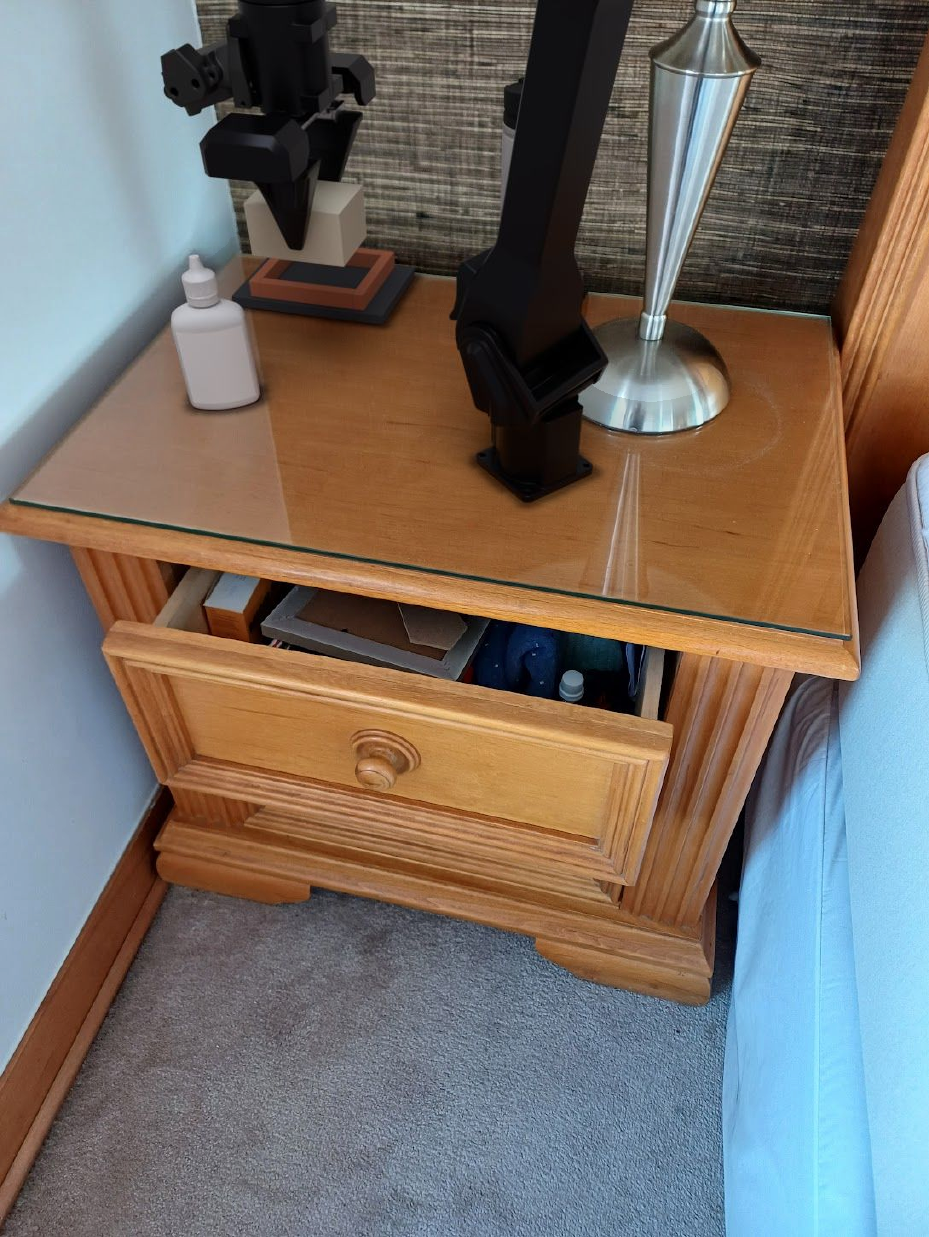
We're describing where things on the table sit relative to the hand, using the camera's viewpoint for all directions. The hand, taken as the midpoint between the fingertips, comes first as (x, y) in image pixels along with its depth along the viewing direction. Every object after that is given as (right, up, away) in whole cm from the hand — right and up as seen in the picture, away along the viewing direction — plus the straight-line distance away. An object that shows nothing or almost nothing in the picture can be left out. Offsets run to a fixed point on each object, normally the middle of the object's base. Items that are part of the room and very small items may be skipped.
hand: (310, 233), depth 70 cm
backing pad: (-1, +2, +17) cm, 17 cm away
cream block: (0, -1, +1) cm, 1 cm away
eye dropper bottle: (-8, -12, +5) cm, 15 cm away
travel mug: (+18, -2, +14) cm, 23 cm away
